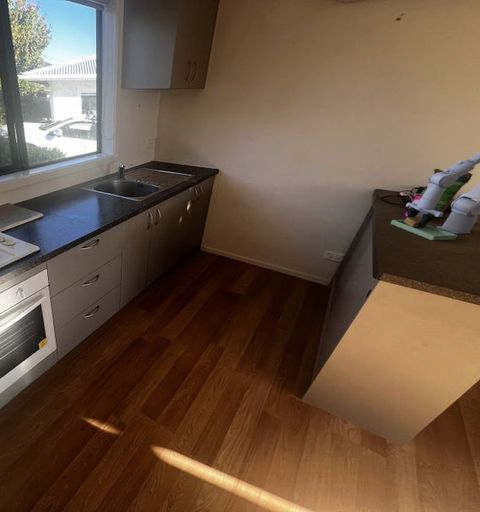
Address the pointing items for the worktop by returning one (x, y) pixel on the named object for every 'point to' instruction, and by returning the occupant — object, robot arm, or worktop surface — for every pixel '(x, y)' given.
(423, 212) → the supplement box
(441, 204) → the pouch
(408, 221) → the eraser
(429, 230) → the tray
